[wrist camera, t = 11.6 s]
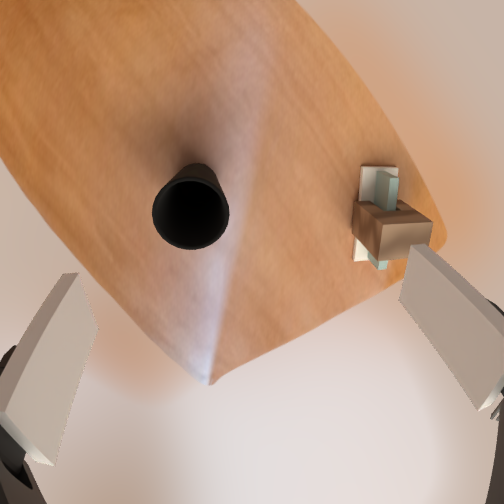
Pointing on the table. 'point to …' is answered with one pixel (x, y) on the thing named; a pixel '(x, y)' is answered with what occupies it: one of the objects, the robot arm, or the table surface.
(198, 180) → the cup
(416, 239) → the brown notched block
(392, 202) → the inverted t-shaped bar
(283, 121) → the table surface
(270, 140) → the table surface
